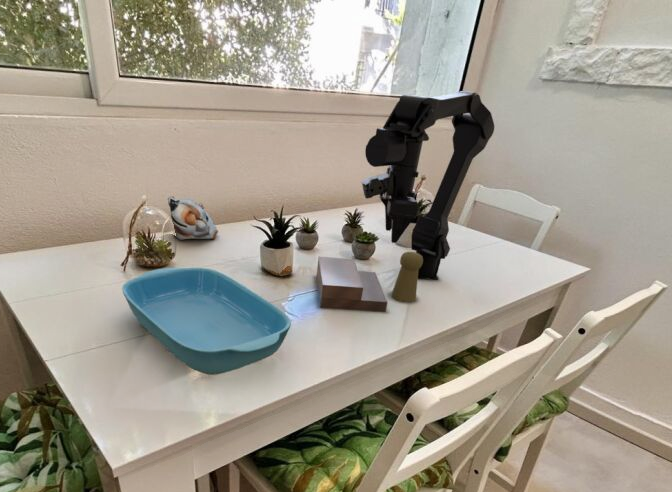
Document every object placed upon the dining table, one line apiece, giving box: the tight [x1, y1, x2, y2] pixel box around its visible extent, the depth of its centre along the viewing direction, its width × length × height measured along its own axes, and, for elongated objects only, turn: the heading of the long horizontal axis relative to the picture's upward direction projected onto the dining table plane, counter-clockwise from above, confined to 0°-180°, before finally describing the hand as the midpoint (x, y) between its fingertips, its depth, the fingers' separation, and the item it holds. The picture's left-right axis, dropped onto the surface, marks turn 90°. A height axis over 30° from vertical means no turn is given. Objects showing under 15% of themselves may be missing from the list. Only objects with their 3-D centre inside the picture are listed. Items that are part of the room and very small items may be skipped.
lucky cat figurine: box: [167, 195, 219, 241], centre depth 132 cm, size 15×12×14 cm
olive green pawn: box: [390, 251, 423, 304], centre depth 110 cm, size 6×6×11 cm
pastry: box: [262, 265, 293, 277], centre depth 119 cm, size 9×7×4 cm
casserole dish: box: [121, 267, 292, 376], centre depth 87 cm, size 37×22×7 cm, turn 41°
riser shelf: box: [315, 256, 388, 313], centre depth 110 cm, size 15×18×6 cm
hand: (390, 236), depth 108 cm, fingers open, 9 cm apart
